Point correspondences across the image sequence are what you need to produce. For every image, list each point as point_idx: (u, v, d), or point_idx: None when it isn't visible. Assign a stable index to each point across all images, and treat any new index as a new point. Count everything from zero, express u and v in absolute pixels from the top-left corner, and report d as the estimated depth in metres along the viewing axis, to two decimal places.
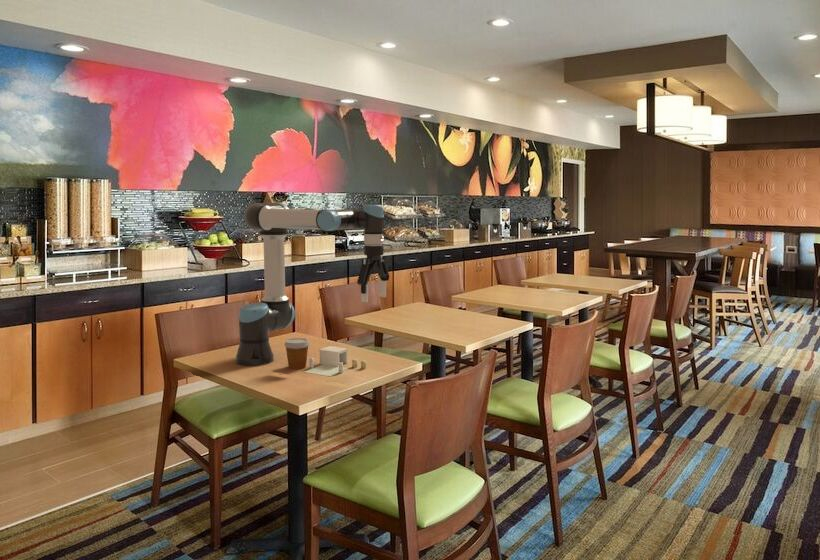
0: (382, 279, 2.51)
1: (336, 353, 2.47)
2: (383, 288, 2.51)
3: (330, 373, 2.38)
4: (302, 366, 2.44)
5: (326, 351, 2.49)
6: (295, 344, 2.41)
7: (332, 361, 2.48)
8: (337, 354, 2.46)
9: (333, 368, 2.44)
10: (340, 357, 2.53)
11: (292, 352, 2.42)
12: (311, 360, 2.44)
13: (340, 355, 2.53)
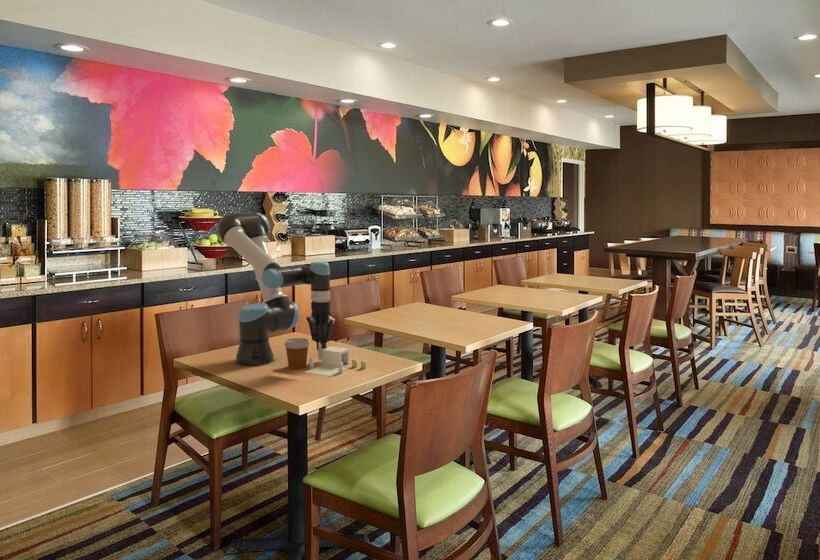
0: None
1: (338, 353, 2.46)
2: None
3: (330, 373, 2.38)
4: (302, 366, 2.44)
5: (328, 351, 2.48)
6: (295, 344, 2.41)
7: (334, 361, 2.48)
8: (339, 354, 2.46)
9: (333, 368, 2.44)
10: (341, 358, 2.53)
11: (292, 352, 2.42)
12: (311, 360, 2.44)
13: (342, 355, 2.53)
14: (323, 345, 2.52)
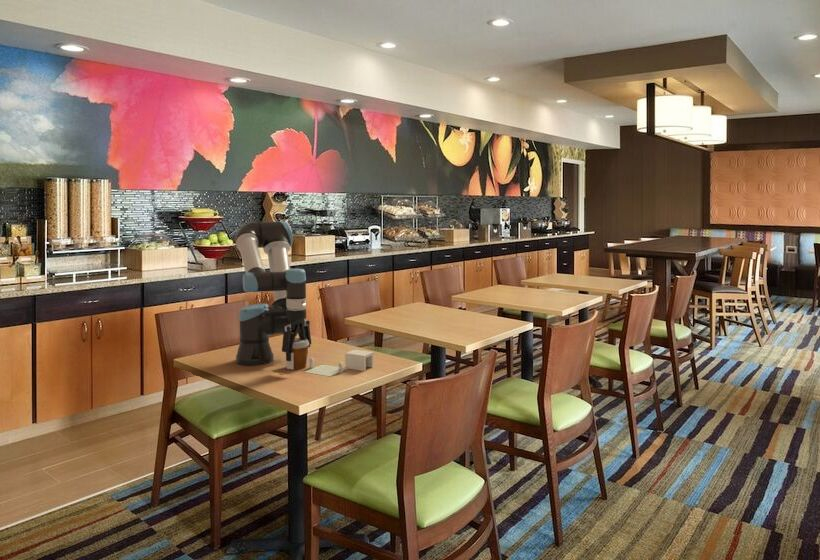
0: None
1: (362, 357, 2.41)
2: None
3: (330, 373, 2.38)
4: (302, 366, 2.44)
5: (352, 355, 2.43)
6: (295, 344, 2.41)
7: (358, 365, 2.42)
8: (363, 358, 2.41)
9: (333, 368, 2.44)
10: (365, 361, 2.48)
11: None
12: (311, 360, 2.44)
13: (366, 359, 2.47)
14: None
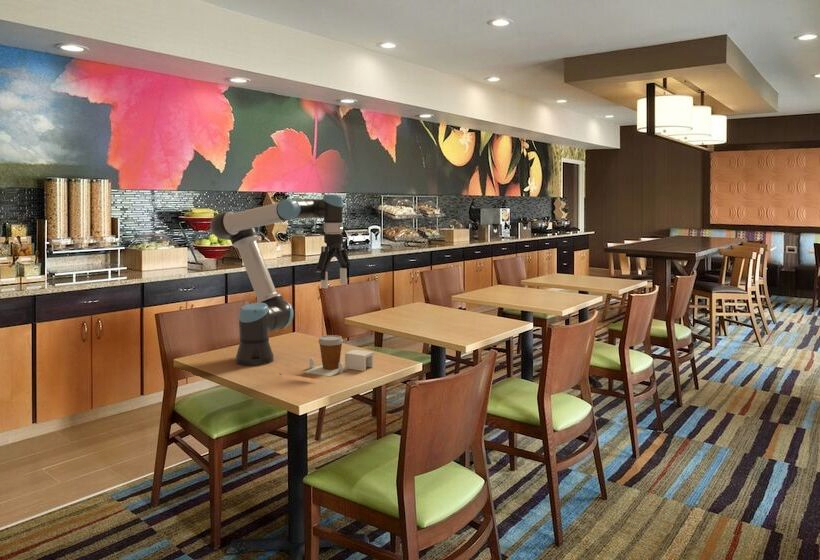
0: (343, 267, 2.60)
1: (362, 357, 2.41)
2: (343, 275, 2.60)
3: (330, 373, 2.38)
4: (336, 363, 2.43)
5: (352, 355, 2.43)
6: (329, 341, 2.40)
7: (358, 365, 2.42)
8: (363, 358, 2.41)
9: None
10: (365, 361, 2.48)
11: (326, 349, 2.41)
12: (311, 360, 2.44)
13: (366, 359, 2.47)
14: (346, 270, 2.61)
